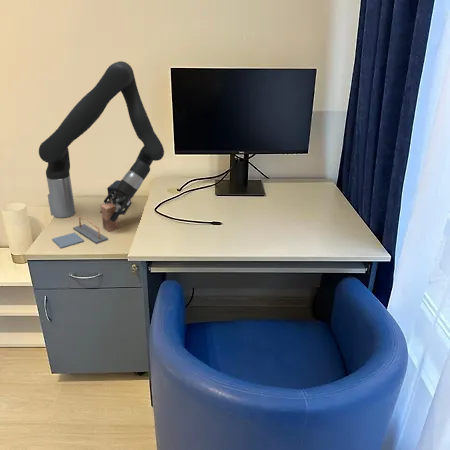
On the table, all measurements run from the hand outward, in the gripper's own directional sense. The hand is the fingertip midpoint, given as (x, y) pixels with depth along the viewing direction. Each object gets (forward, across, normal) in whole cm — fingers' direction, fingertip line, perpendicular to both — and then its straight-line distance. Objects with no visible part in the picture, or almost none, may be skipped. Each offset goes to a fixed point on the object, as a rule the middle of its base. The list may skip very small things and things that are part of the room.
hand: (106, 217), depth 172 cm
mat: (+15, 0, -8) cm, 17 cm away
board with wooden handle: (+9, 0, -1) cm, 10 cm away
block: (+3, 0, +5) cm, 5 cm away
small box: (-7, -20, +15) cm, 26 cm away
